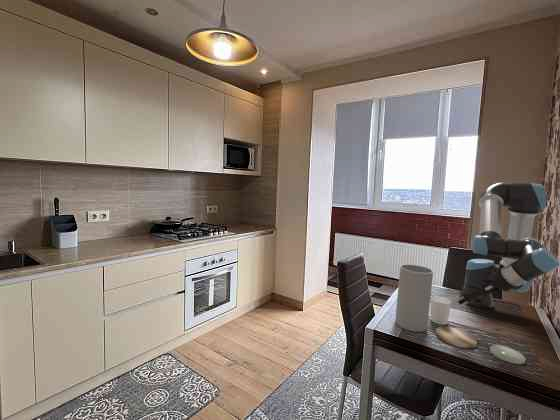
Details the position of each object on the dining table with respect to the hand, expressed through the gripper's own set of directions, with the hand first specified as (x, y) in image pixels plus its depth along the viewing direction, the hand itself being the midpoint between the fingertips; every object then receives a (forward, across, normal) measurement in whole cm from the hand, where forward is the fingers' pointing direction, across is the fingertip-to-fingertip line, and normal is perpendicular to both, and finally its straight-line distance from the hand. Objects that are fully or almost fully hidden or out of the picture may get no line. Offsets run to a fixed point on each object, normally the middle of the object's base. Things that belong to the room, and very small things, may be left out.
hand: (459, 302), depth 119 cm
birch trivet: (+7, -8, -10) cm, 15 cm away
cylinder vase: (+18, -14, 0) cm, 23 cm away
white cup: (+14, +1, -3) cm, 14 cm away
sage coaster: (-5, -5, -22) cm, 23 cm away
